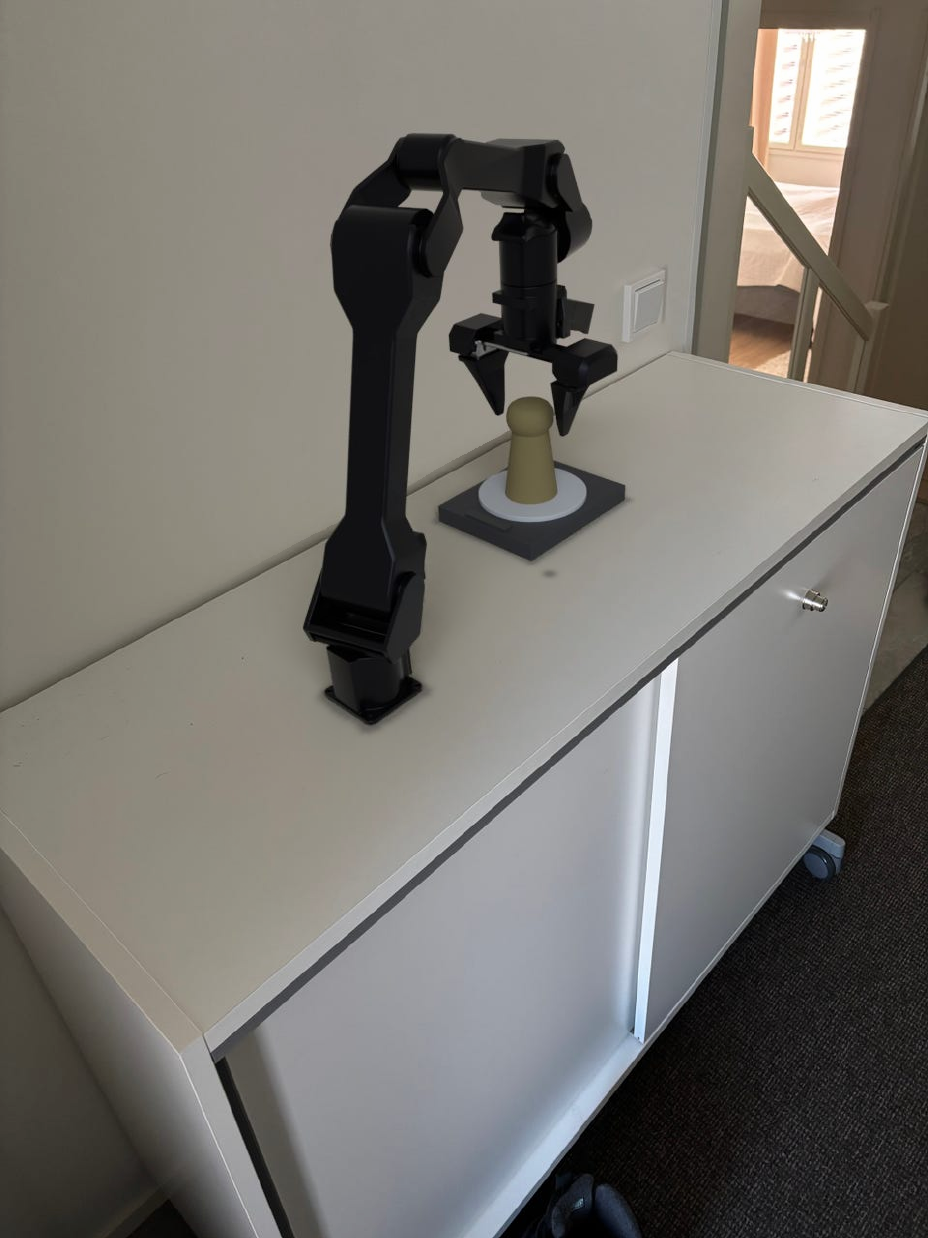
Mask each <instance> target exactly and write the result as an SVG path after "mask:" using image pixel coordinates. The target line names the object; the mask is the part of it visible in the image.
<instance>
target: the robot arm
mask: <svg viewBox="0 0 928 1238" xmlns="http://www.w3.org/2000/svg"><path fill="white" fill-rule="evenodd" d="M565 152H566V147H565V145H564V144H563V142H562V141H561V140H560V139H543V138H542V139H541V138H540V139H539V138H496V139H493V140H489V141H485V142H481V141H476V140H470V139H464V138H462V137H457V136H456V135H455V134H454V133H433V132H432V133H431V132H411V133H410V132H409V133H407V134H406V135H405V136H401V137H399V138H398V140H397V141H396V142H395V144H394V146H393V148H392V149H391V152H390V153H389V155H388V158H387V159H386V160H385V161H384V162H383V163H382V164H381V165H379V166H378V167H377V168H376V169H374V171H372V172H371V173H370V174H369V175H367V176H366V177H365V178H363V179H362V181H360V182H359V183H358V184H357V185H356V186H354V188H352V190H351V191H350V192H351V193H350V194H349V196H348V198H347V200H346V202H345V204H344V206H343V208H342V210H341V212H340V214H339V216H338V217H337V219H336V220H335V221H334V223H333V227H332V230H331V233H330V240H329V241H330V242H329V248H330V255H331V270H332V271H331V272H332V273H331V274H332V286H333V287H332V288H333V292H334V294H335V296H336V299H337V300H338V303H339V305H340V307H341V309H342V311H343V312H344V315H345V317H346V319H347V321H348V323H349V326H350V327H351V331H352V333H351V334H352V338H351V339H352V342H351V363H350V364H351V365H350V369H351V370H350V390H349V411H348V439H347V463H346V489H345V507H344V508H345V509H344V515H343V516H342V518H341V519H340V520H339V522H338V523H337V525H336V527H335V528H334V530H333V531H332V532H331V534H330V536H329V537H328V538H327V539H326V541H325V543H324V549H323V555H322V563H321V568H320V570H319V573H318V577H317V580H316V583H315V587H314V590H313V593H312V596H311V599H310V603H309V606H308V608H307V612H306V615H305V617H304V618H305V619H304V621H303V625H302V630H303V632H304V633H305V635H306V636H307V638H308V640H309V641H310V642H312V643H320V644H324V645H326V647H325V649H326V655H327V660H328V666H329V672H330V677H331V682H332V684H331V685H329V686H328V687H326V688H325V689H324V690H323V693H324V697H325V698H326V699H328V700H330V701H331V702H333V703H334V704H335V705H337V706H338V707H340V708H342V709H343V710H345V711H346V712H348V713H349V714H351V715H352V716H354V717H355V718H357V719H358V720H360V721H361V722H363V723H364V724H366V725H368V726H373V725H375V724H377V723H378V722H380V721H381V720H382V719H384V718H385V717H387V716H388V715H390V714H391V713H393V712H394V711H395V710H397V709H398V708H399V707H401V706H403V705H404V704H405V703H406V702H408V701H409V700H411V699H412V698H413V697H415V696H416V695H418V694H419V693H421V692H422V691H423V684H422V683H421V682H420V681H418V680H417V679H415V678H414V677H411V675H412V674H413V668H412V667H413V666H412V658H411V651H410V648H411V646H412V645H413V644H414V643H415V642H416V640H417V639H418V638H419V637H420V636H421V631H422V623H423V622H422V621H423V611H424V601H425V589H426V583H425V580H426V578H427V576H426V571H425V570H426V569H425V568H426V567H425V566H426V565H425V563H426V555H427V547H428V542H427V539H426V538H427V537H426V535H425V533H424V532H420V531H415V530H413V527H412V526H411V524H410V522H409V519H408V518H407V498H408V483H409V468H410V467H409V466H410V449H411V436H412V421H413V419H412V418H413V405H414V404H413V402H414V390H415V389H414V388H415V373H416V372H415V371H416V360H417V359H416V358H417V343H418V341H417V340H418V334H419V332H420V331H421V329H422V328H423V327H424V324H425V323H426V322H427V321H428V319H429V318H430V316H431V314H432V313H433V311H434V310H435V308H436V307H437V305H438V304H439V302H440V301H441V296H442V291H443V283H444V276H445V271H446V269H447V267H448V265H449V264H450V261H451V259H452V257H453V255H454V252H455V250H456V247H457V246H458V244H459V242H460V239H461V237H462V235H463V233H464V223H463V218H462V213H461V209H460V208H461V207H460V204H459V199H460V195H461V194H462V191H470V192H479V193H480V197H481V198H482V200H485V201H487V202H489V203H491V204H492V205H495V206H500V207H501V208H502V209H509V210H510V209H511V210H514V209H515V210H523V212H514V211H504V212H502V213H503V214H502V216H501V218H500V221H499V222H498V223H497V224H496V225H495V226H494V227H493V230H492V232H491V235H490V238H491V241H492V242H498V258H499V259H498V260H499V264H498V265H499V289H498V290H496V291H493V292H491V295H492V296H491V301H492V303H493V304H495V305H499V306H500V317H499V316H496V315H492V314H487V313H483V312H480V313H477V314H474V315H472V316H471V317H468V318H465V319H463V320H461V321H458V322H456V323H453V325H452V327H451V328H450V331H449V333H448V347H449V348H448V349H449V352H451V353H454V354H458V355H457V359H458V362H462V363H463V364H464V366H465V367H466V369H467V370H468V372H469V373H470V375H471V377H472V378H473V379H474V381H475V382H476V384H477V386H478V387H479V389H480V391H481V393H482V394H483V396H484V398H485V399H486V401H487V403H488V405H489V406H490V408H491V410H492V412H493V413H494V415H495V416H497V417H499V416H501V415H503V414H504V413H505V404H506V368H505V367H506V361H507V359H508V356H509V354H510V353H511V354H516V355H520V356H523V357H527V358H530V359H535V360H538V361H542V362H546V363H549V364H551V374H552V375H553V377H554V378H555V380H553V381H551V382H549V383H550V384H549V385H550V390H551V391H550V393H551V398H552V403H553V411H554V418H555V423H556V427H557V432H558V435H559V437H562V438H563V437H566V436H568V434H569V433H570V430H571V429H572V426H573V424H574V420H575V418H576V415H577V413H578V410H579V408H580V405H581V402H582V400H583V398H584V397H585V394H586V393H587V391H588V389H589V388H590V386H592V385H594V384H596V383H597V382H599V381H601V380H604V379H605V378H607V377H609V376H611V375H613V374H615V373H617V372H618V361H619V355H618V350H617V349H616V348H615V346H613V344H611V343H608V342H603V341H599V340H595V339H590V338H586V337H584V338H582V339H580V340H577V341H575V342H573V343H571V344H568V345H562V344H558V340H560V339H562V340H565V339H567V338H569V337H571V333H572V332H571V331H574V332H580V333H582V334H583V335H588V334H589V332H590V327H591V323H592V318H593V314H594V309H595V306H596V304H595V303H591V302H586V301H582V300H579V299H573V298H569V297H568V290H567V288H566V285H562V284H558V264H561V263H562V262H564V261H565V260H566V259H567V258H570V256H572V255H573V254H575V253H576V252H577V251H579V250H580V249H581V248H583V247H584V246H585V245H586V243H587V242H588V241H589V239H590V237H591V234H592V231H593V219H592V218H591V213H590V211H589V208H588V207H587V206H586V204H585V203H584V202H583V199H582V196H581V191H580V189H579V185H578V181H577V179H576V178H577V177H576V175H575V172H574V171H575V170H574V168H573V164H572V160H571V158H570V155H569V154H568V153H565ZM412 191H416V192H418V191H420V192H436V193H437V192H439V193H442V196H441V197H440V199H439V202H438V203H437V205H436V208H435V210H434V212H433V211H432V210H430V209H429V208H427V207H409V206H400V205H402V204H403V203H405V201H407V200H408V198H409V197H410V195H411V193H412Z"/></svg>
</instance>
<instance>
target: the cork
mask: <svg viewBox="0 0 928 1238" xmlns="http://www.w3.org/2000/svg"><path fill="white" fill-rule="evenodd" d="M505 419H506V425H507V427H508V429H509V430H510V431H511V435H510V444H509V453H508V463H507V467H508V471H507V480H506V489H505V495H506V496H507V498H508V499H510V500H511V501H514V502H516V503H520V504H540V503H544V502H547V501H550V500H551V499H553V498H554V497H555V496H556V495H557V483H556V476H555V469H554V462H553V460H554V456H553V448H552V442H551V436H550V435H551V434H550V429H551V428H552V426H553V424H554V419H555V411H554V406H552V404H551V403H550V402H549V400H547V399H545V398H543V397H539V396H531V395H530V396H523V397H519V398H517V399H515V400H512V402H511V403H509V405H508V407H507V410H506V415H505Z"/></svg>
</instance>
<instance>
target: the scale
mask: <svg viewBox="0 0 928 1238" xmlns="http://www.w3.org/2000/svg"><path fill="white" fill-rule="evenodd" d="M553 462H554V469H555V476H556V483H557V495H556V496H555V497H554V498H553V499H551V500H550V501H547V502H544V503H540V504H520V503H516V502H514V501H511V500H510V499H508V498H507V496H506V495H505V489H506V480H507V471H508V466H507V467H505V468H504V469H502V470H500V471H498V472H497V473H495V474H493V475H491V476H489V477H487V478H485V479H484V480H482V481H480V482H478V483H476V484H475V485H472V486H471V487H469V488H468V489H466V490H464V491H462V492H460V493H458V494H457V495H455V496H453V497H451V498H450V499H448V500H446V501H444V502H442V503H440V504H439V505H437V512H438V521H439V522H441V523H443V524H445V525H448V526H450V527H452V528H454V529H457V530H459V531H461V532H463V533H466V534H468V535H471V536H473V537H475V538H478V539H480V540H482V541H484V542H487V543H489V544H491V545H493V546H496V547H498V548H500V549H503V550H505V551H507V552H510V553H512V554H514V555H516V556H519V557H521V558H523V559H526V560H527V561H531V562H532V561H534V560H536V559H537V558H539V557H540V556H542V555H543V554H545V553H546V552H548V551H549V550H551V549H552V548H554V547H556V546H557V545H558V544H561V542H563V541H565V540H566V539H568V538H570V537H571V536H572V535H574V534H575V533H576V532H578V531H580V530H582V529H583V528H584V527H586V526H587V525H589V524H590V523H592V522H594V521H595V520H596V519H598V518H600V517H601V516H603V515H604V514H605V513H607V512H608V511H610V510H612V509H614V508H615V507H616V506H617V505H620V504H621V503H622V502H624V501H625V499H626V484H623V483H620V482H617V481H615V480H613V479H609V478H607V477H603V476H600V475H598V474H595V473H592V472H589V471H586V470H583V469H580V468H577V467H574V466H572V465H568V464H566V463H563V462H560V461H557V460H554V459H553Z"/></svg>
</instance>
